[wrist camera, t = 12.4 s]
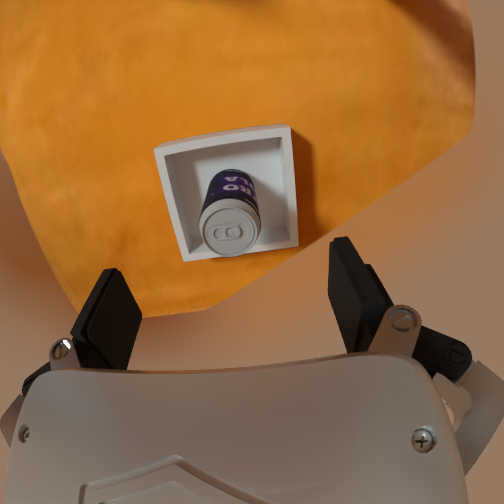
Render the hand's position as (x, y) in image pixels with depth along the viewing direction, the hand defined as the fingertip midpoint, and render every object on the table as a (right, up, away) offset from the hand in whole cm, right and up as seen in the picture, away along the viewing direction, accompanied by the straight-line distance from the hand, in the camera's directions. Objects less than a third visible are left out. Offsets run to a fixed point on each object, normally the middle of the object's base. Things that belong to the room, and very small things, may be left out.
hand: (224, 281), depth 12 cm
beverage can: (-1, +9, +22) cm, 24 cm away
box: (-1, +9, +23) cm, 25 cm away
